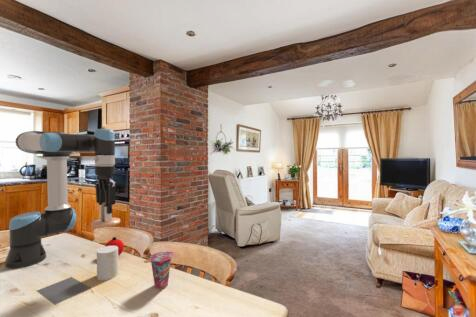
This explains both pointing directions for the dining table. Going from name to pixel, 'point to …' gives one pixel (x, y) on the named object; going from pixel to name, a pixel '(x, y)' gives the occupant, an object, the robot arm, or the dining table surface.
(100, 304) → the dining table surface
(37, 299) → the dining table surface
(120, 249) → the ornament
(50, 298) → the mat
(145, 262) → the dining table surface
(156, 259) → the cup
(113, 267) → the white round pillar
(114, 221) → the lid
